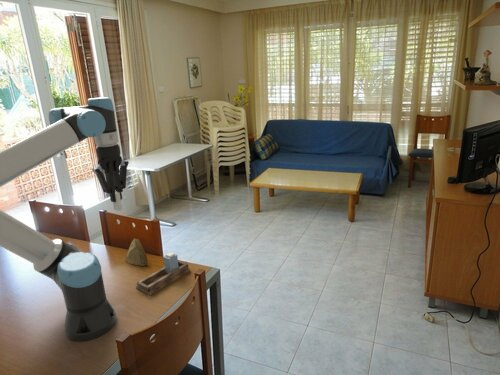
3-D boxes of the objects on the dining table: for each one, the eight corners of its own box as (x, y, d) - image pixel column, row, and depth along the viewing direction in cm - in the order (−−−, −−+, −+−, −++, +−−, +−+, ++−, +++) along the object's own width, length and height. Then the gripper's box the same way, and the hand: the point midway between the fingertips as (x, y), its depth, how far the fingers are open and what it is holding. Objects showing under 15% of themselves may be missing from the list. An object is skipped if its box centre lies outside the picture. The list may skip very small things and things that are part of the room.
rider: (171, 275, 141) (169, 257, 139) (165, 272, 143) (163, 255, 141) (179, 270, 144) (176, 253, 142) (173, 268, 146) (171, 250, 144)
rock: (154, 259, 152) (149, 246, 160) (140, 248, 147) (135, 236, 155) (135, 277, 151) (130, 264, 159) (120, 267, 146) (116, 254, 154)
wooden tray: (150, 295, 131) (149, 288, 130) (136, 288, 136) (135, 281, 135) (190, 270, 146) (189, 264, 145) (176, 265, 151) (175, 258, 150)
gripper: (95, 149, 116) (107, 217, 123) (130, 142, 125) (139, 205, 133) (83, 147, 120) (95, 213, 127) (117, 140, 130) (127, 202, 137)
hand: (118, 209), depth 130 cm, fingers closed
